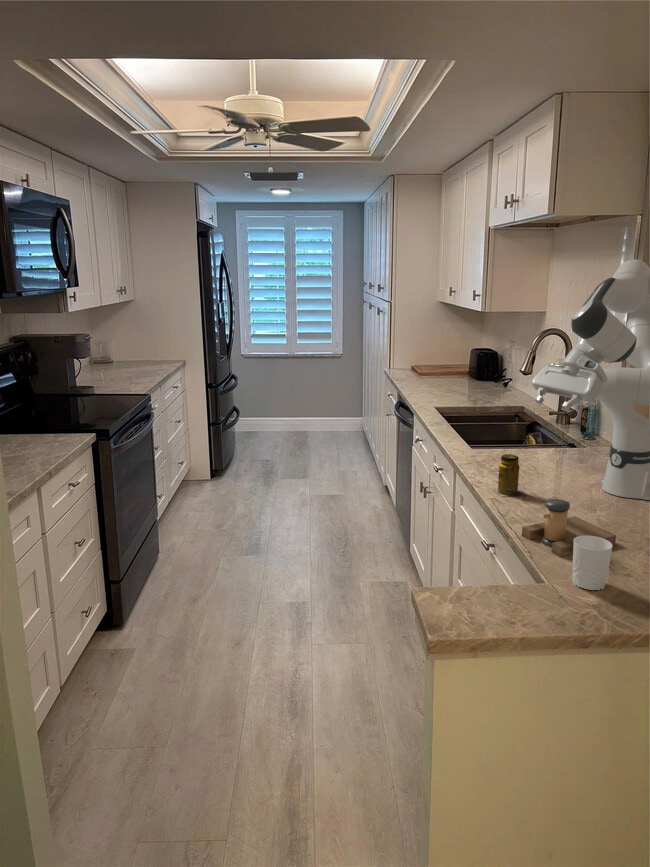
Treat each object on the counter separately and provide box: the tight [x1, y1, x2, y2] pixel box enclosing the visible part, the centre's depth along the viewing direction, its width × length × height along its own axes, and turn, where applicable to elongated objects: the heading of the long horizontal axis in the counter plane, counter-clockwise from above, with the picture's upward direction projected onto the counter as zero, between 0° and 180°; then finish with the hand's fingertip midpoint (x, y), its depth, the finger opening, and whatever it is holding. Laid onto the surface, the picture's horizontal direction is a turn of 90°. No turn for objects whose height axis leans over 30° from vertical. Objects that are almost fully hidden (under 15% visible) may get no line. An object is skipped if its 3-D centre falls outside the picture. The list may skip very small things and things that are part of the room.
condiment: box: [493, 453, 528, 497], centre depth 196 cm, size 7×8×12 cm
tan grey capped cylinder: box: [541, 498, 571, 548], centre depth 159 cm, size 7×6×11 cm
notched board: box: [521, 515, 617, 558], centre depth 162 cm, size 18×14×2 cm
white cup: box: [571, 536, 614, 591], centre depth 138 cm, size 8×8×10 cm
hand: (551, 405), depth 176 cm, fingers open, 8 cm apart
